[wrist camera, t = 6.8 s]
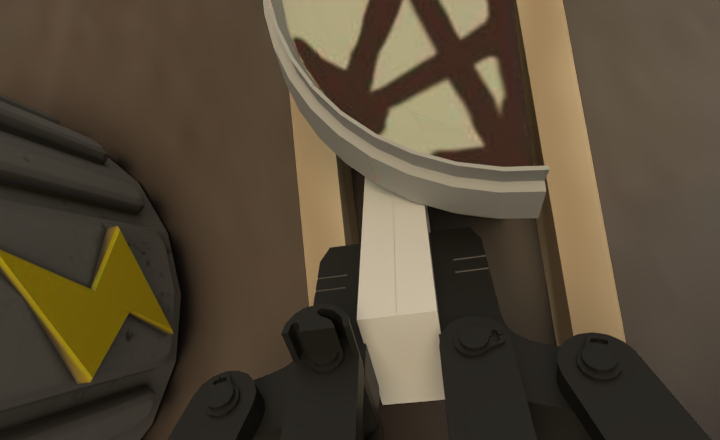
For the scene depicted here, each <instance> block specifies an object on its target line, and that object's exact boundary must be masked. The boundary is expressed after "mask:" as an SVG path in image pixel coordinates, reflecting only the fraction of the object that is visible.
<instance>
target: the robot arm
mask: <svg viewBox="0 0 720 440" xmlns="http://www.w3.org/2000/svg"><path fill="white" fill-rule="evenodd" d="M282 336H283V338H284V340H285V343H286V345H287V347H288V349H289V352H290V354H291V356H292V358H293V362H292V363H290V364H289V365H288V366H286V367H284V368H282V369H280V370H278V371H276V372H274V373H271V374H269V375H266V376H264V377H261V378H259V379H256V380H253V379H252V378H251V377H250V376H249V375H248V374H246V373H243V372H240V371H227V372H224V373H221V374H219V375H216V376H214V377H212V378H211V379H210V380H208V381H207V382H205V383H204V384H203V385H202V386H201V387H200V388H199V390H198V391H197V392H196V393H195V395H194V396H193V398H192V399H191V401H190V403H189V404H188V406H187V408H186V409H185V411H184V413H183V414H182V416H181V418H180V419H179V421H178V423H177V424H176V426H175V428H174V430H173V431H172V433H171V435H170V436H169V438H168V440H383V426H382V422H381V418H380V415H379V395H380V398H381V402H382V405H389V404H400V403H412V402H423V401H434V400H445V404H446V413H447V422H448V431H449V440H711V439H710V438H709V437H708V435H707V434H706V433H705V432H704V431H703V430H702V428H701V427H700V426H699V425H698V424H697V423H696V421H695V420H694V419H693V418H692V417H691V416H690V414H689V413H688V412H687V411H686V410H685V409H684V407H683V406H682V405H681V404H680V403H679V402H678V400H677V399H676V398H675V397H674V396H673V395H672V393H671V392H670V391H669V390H668V389H667V388H666V386H665V385H664V384H663V383H662V382H661V381H660V379H659V378H658V377H657V376H656V375H655V374H654V372H653V371H652V370H651V369H650V368H649V367H648V365H647V364H646V363H645V362H644V361H643V360H642V358H641V357H640V356H639V355H638V354H637V353H636V351H634V350H633V349H632V348H631V347H630V346H628V345H627V344H626V343H625V342H624V341H622V340H619V339H617V338H615V337H613V336H610V335H608V334H601V333H594V332H590V333H582V334H577V335H575V336H573V337H571V338H569V339H567V340H565V342H564V343H563V344H562V346H561V347H560V346H554V345H547V344H541V343H537V342H533V341H529V340H526V339H524V338H522V337H520V336H518V335H517V334H515V333H514V332H513V331H511V330H510V329H509V328H508V327H507V325H506V324H505V323H504V321H503V319H502V317H501V314H500V310H499V306H498V302H497V298H496V295H495V291H494V287H493V283H492V279H491V275H490V271H489V268H488V263H487V260H486V257H485V252H484V248H483V244H482V240H481V238H480V237H479V236H478V235H477V234H476V233H475V232H474V231H473V230H472V229H471V228H470V227H466V228H459V229H451V230H444V231H437V232H431V231H430V223H429V216H428V209H427V205H424V204H420V203H417V202H413V201H411V200H409V199H407V198H405V197H402V196H400V195H398V194H396V193H394V192H392V191H389V190H387V189H385V188H383V187H381V186H379V185H377V184H375V183H374V182H372V181H371V180H369V179H368V178H366V177H365V185H364V202H363V219H362V237H361V243H360V244H353V245H346V246H338V247H331V248H329V250H328V251H327V253H326V254H325V255H324V257H323V258H322V260H321V261H320V265H319V271H318V280H317V284H316V293H315V297H314V303H313V306H310V307H306V308H304V309H303V310H301V311H299V312H298V313H296V314H294V316H293V317H292V318H291V319H290V320H289V321H288V322H287V323H286V325H285V327H284V329H283V331H282Z"/></svg>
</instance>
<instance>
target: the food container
mask: <svg viewBox="0 0 720 440" xmlns="http://www.w3.org/2000/svg"><path fill="white" fill-rule="evenodd" d="M263 4H264V14H265V18H266V21H267V25H268V29H269V32H270V36H271V39H272V43H273V46H274V50H275V53H276V56H277V59H278V62H279V65H280V68H281V71H282V74H283V77H284V80H285V82H286V85H287V87H288V89H289V91H290V93H291V95H292V97H293V99H294V101H295V103H296V105H297V107H298V109H299V111H300V112H301V114H302V115H303V116H304V118H305V119H306V120H307V122H308V123H309V124H310V126H311V127H312V129H313V130H314V131H315V133H316V134H317V135H318V137H319V138H320V139H321V140H322V141H323V142H324V143H325V144H326V145H327V146H328V147H329V148H330V149H331V150H332V151H333V152H334V153H335V154H336V155H337V156H339V157H340V158H341V159H342V160H343V161H344V162H345V163H346V164H347V165H349V166H350V167H352V168H353V169H355V170H356V171H358V172H359V173H361V174H362V175H363V176H365V177H366V178H368V179H369V180H371V181H372V182H374V183H375V184H377V185H379V186H381V187H383V188H385V189H387V190H389V191H392V192H394V193H396V194H398V195H400V196H402V197H405V198H407V199H409V200H411V201H413V202H417V203H420V204H424V205H427V206H431V207H434V208H438V209H441V210H444V211H448V212H451V213H456V214H460V215H463V216H471V217H479V218H496V219H511V218H539V215H540V212H541V208H542V205H543V201H544V198H545V194H546V186H545V179H546V176H547V174H548V172H549V166H534V158H533V153H532V134H531V130H530V127H529V124H528V118H527V112H526V105H525V98H524V90H523V81H522V72H521V64H520V55H519V47H518V39H517V31H516V23H515V15H514V7H513V0H263Z"/></svg>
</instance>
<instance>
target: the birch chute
mask: <svg viewBox="0 0 720 440" xmlns="http://www.w3.org/2000/svg"><path fill="white" fill-rule="evenodd" d="M513 7H514V15H515V23H516V31H517V39H518V47H519V55H520V64H521V72H522V81H523V90H524V98H525V105H526V112H527V118H528V124H529V127H530V130H531V134H532V153H533V158H534V166H549V172H548V174H547V176H546V179H545V186H546V194H545V198H544V201H543V205H542V208H541V212H540V215H539V218H536V224H537V230H538V236H539V242H540V248H541V254H542V260H543V266H544V272H545V278H546V284H547V290H548V296H549V303H550V309H551V315H552V321H553V327H554V333H555V339H556V345H557V346H560V347H561V346H562V344H563V343H564V342H565V340H567V339H569V338H571V337H573V336H575V335H577V334H582V333H590V332H594V333H601V334H608V335H610V336H613V337H615V338H617V339H619V340H622V341H624V342H625V343H626V340H625V335H624V329H623V324H622V319H621V313H620V308H619V302H618V297H617V292H616V286H615V281H614V275H613V270H612V265H611V259H610V254H609V249H608V243H607V238H606V232H605V227H604V222H603V216H602V211H601V205H600V200H599V195H598V189H597V184H596V178H595V173H594V168H593V162H592V157H591V151H590V146H589V141H588V135H587V130H586V124H585V119H584V114H583V108H582V103H581V97H580V92H579V87H578V81H577V76H576V71H575V65H574V60H573V54H572V49H571V44H570V38H569V33H568V27H567V22H566V17H565V11H564V6H563V0H513ZM289 93H290V91H289ZM290 103H291V114H292V125H293V136H294V146H295V157H296V168H297V179H298V189H299V200H300V211H301V222H302V232H303V243H304V254H305V265H306V275H307V286H308V297H309V307H310V306H313V303H314V297H315V293H316V284H317V280H318V271H319V265H320V261H321V260H322V258H323V257H324V255H325V254H326V253H327V251H328V250H329V248H331V247H338V246H346V245H353V244H359V236H358V227H357V218H356V208H355V199H354V190H353V181H352V172H351V167H350V166H349V165H347V164H346V163H345V162H344V161H343V160H342V159H341V158H340V157H339V156H337V155H336V154H335V153H334V152H333V151H332V150H331V149H330V148H329V147H328V146H327V145H326V144H325V143H324V142H323V141H322V140H321V139H320V138H319V137H318V135H317V134H316V133H315V131H314V130H313V129H312V127H311V126H310V124H309V123H308V122H307V120H306V119H305V118H304V116H303V115H302V114H301V112H300V111H299V109H298V107H297V105H296V103H295V101H294V99H293V97H292V95H291V93H290Z"/></svg>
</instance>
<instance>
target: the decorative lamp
mask: <svg viewBox="0 0 720 440" xmlns="http://www.w3.org/2000/svg"><path fill="white" fill-rule="evenodd" d="M180 302H181V292H180V287H179V283H178V278H177V273H176V269H175V264H174V259H173V255H172V250H171V246H170V241H169V236H168V233H167V231H166V229H165V227H164V226H163V224H162V222H161V221H160V219H159V217H158V215H157V214H156V212H155V210H154V208H153V207H152V205H151V203H150V202H149V200H148V198H147V196H146V195H145V193H144V191H143V190H142V188H141V186H140V184H139V183H138V182H137V181H136V180H135V179H133V178H132V177H131V176H130V175H129V174H127V173H126V172H125V171H124V170H123V169H122V168H120V167H119V166H118V165H117V164H116V163H114V162H113V161H112V160H111V159H110V158H109V157H108V153H107V152H106V151H105V149H104V148H103V147H102V146H101V145H99V144H98V143H97V142H96V141H94V140H93V139H91V138H89V137H87V136H84V135H82V134H80V133H77V132H75V131H72V130H70V129H68V128H65V127H63V126H60V122H59V121H58V120H56V119H55V118H54V117H52V116H50V115H48V114H45V113H43V112H41V111H38V110H36V109H34V108H31V107H29V106H27V105H24V104H22V103H20V102H17V101H15V100H13V99H10V98H8V97H6V96H3V95H1V94H0V440H141V438H142V437H143V436H144V434H145V433H146V432H147V431H148V429H149V428H150V427H151V425H152V423H153V421H154V418H155V415H156V413H157V410H158V407H159V405H160V402H161V399H162V397H163V394H164V391H165V389H166V386H167V384H168V381H169V378H170V376H171V373H172V370H173V368H174V365H175V362H176V354H177V341H178V328H179V315H180Z"/></svg>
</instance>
